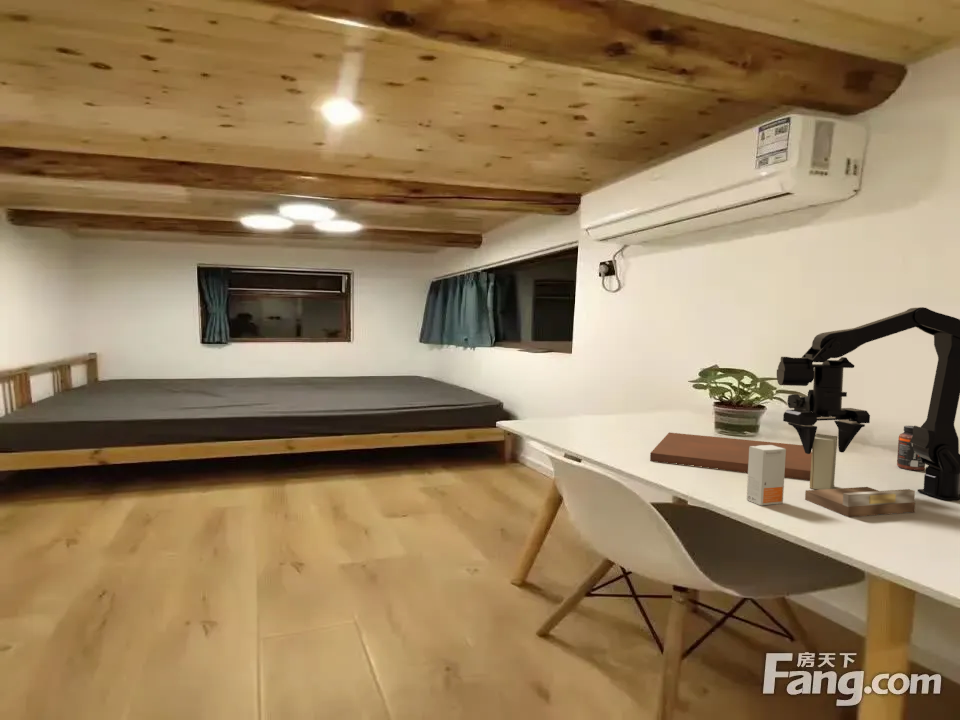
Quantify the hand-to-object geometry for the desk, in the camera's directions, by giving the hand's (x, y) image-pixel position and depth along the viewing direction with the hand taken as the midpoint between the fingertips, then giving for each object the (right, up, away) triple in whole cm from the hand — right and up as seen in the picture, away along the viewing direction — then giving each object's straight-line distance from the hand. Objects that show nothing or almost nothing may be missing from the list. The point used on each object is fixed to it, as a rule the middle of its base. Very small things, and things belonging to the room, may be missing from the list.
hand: (824, 452), depth 127 cm
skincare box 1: (-19, -9, -10) cm, 24 cm away
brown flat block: (-1, -9, -12) cm, 15 cm away
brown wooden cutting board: (-8, -7, +30) cm, 32 cm away
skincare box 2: (0, -9, +1) cm, 9 cm away
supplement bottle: (+35, -8, +19) cm, 40 cm away
